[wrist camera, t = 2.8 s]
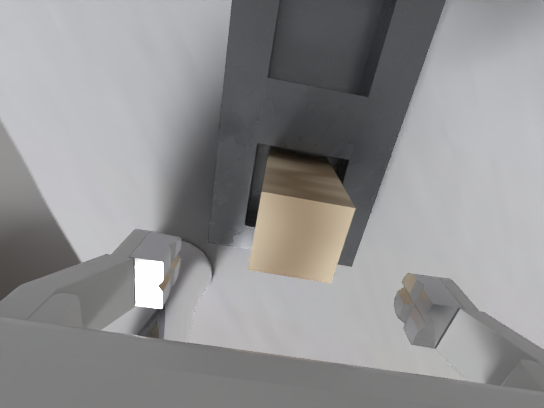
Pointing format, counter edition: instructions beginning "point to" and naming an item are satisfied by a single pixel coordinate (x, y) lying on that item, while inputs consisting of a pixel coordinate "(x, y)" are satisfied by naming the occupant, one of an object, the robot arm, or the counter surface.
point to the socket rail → (315, 99)
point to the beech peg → (300, 218)
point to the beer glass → (171, 302)
